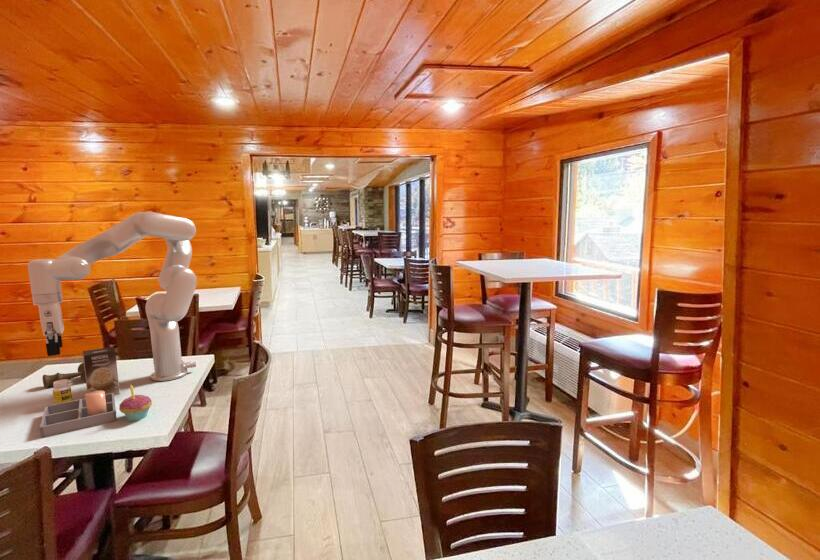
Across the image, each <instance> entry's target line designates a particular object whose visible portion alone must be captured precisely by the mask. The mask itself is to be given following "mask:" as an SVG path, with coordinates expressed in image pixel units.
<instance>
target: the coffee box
mask: <svg viewBox="0 0 820 560" xmlns="http://www.w3.org/2000/svg"><path fill="white" fill-rule="evenodd" d="M82 358H83V362H84V368H85V377H86V382H85V385H86V394H87V393H90V392H93V391H105V394H109V393H114V396H117V395H121V392H120V382H119V381H120V380H119V374H118V366H117V362H118V361H117V355H116V349H115V347H114V346H109V347H102V348H96V349H88V350H83V351H82Z"/></svg>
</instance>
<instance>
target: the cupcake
mask: <svg viewBox="0 0 820 560" xmlns="http://www.w3.org/2000/svg"><path fill="white" fill-rule="evenodd" d="M129 388H130V393H131V394H130V395H131V396H128V397H127V398H125V399H123V400H122V401H121V402H120V404H119V406H118V407H119V411H120V413H122V414H124V416H125V417H126V419H127V421H129V422H130V421H131V422H136V421H139V420H143V419H145V418H146V417H147V416H148V412H149V410H150V407H151V406H152V404H153V401H152V399H151V398H150V397H149V396H147V395H144V394H135V392H134V387H133V385H132V383H130V385H129Z"/></svg>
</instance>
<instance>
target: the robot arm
mask: <svg viewBox="0 0 820 560" xmlns="http://www.w3.org/2000/svg"><path fill="white" fill-rule="evenodd" d="M196 233H197V228H196V225H195V223H194V221H192V220H190V219H189V218H186V217H181V216H175V215H170V214H164V213H161V212H154V211H137V212H135V213H133V214H131V215H130V216H129V215H128V217H126V218H125V219H123V220H121V221H120V222H118V223H116V224H115V225H113V226H111V227H110V228H108V229H107V230H105V231H103V232H101V233H100V234H97V235H96V236H93V237H92V238H90V239H88V240H86V241H83V242H82V243H80V244H78V245H76V246H74V247H72V248H70V249H69V250H68V251H66V252H64V253H63V254H61V255H60V256H58V257H57V258H56V259H54V258H41V259H40V258H39V259H33V260H30V261H29V262H28V263H27V269H28V270H27V271H28V278H29V285H30V292H31V296H32V297H31V298H32V304H33V306H37V307H38V313H39V320H40V326H41V330H42V335H43V336H44V337H45V347H46V355H47V356H48V357H53V356H59V355H61V348H63V346H64V345H63V340H62V339H63V338H62V335H63V333H64V331H65V325H64V319H63V313H62V312H63V311H62V308H61V307H62V306H61V303H63V302H64V297H63V296H64V295H63V289H62V288H63V287H62V282H61V281H79V280H84V279H85V278H86V277H87V276H89V275H90V272H91V265H92V264H94V263H95V262H97V261H101V260H102V259H106V258H109V257H114V256H117V255H119V254H121V253H124V252H125V251H126V250H128V249H129V248H131V247H132V246H134V245H135V244H137V243H138V242H140V241H141V240H142V239H144V238H146V237H155V238H160V239H163V240H164V241H165V243H166V245H167V251H166V254H165V259H164V262H163V264H162V267H161V271H160V272H159V275H158V284H159V287H160V288H162V289H163V290H165V291H166V292H165V293H163V292H162V293H155V294H152V295H151V296H150V297H149V298H148V299H147V300H146V303H145V308H144V309H145V314H146V319H147V321H148V326H149V332H150V341H151V349H152V350H151V351H152V359H153V361H152V362H153V371H154V372H152V373H151V374H150V376H149V377H150V380H152V381H153V382H167V381H173V380H176V379H181V378H182V377H184V376H186V375H187V374H188V369H189V368H191V369H192V368H196V367H197V363H196V361H193V362H192V361H187V362H185V361H183V360H182V359H183V358H182V348H181V339H180V327H179V323H178V322H179V321H181V320H182V319H184V318H185V316H186V315H187V313H188V311H189V308H190V306H191V303H192V300H193V297H194V294H195V291H196V288H197V284H198V283H197V281H198V280H197V276H196V273H195V272H194V270H192V269H191V268H190V265H191V261H192V256H193V247H192V244H191V240H192V239H193V238H194V237H195V236H196Z"/></svg>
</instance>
